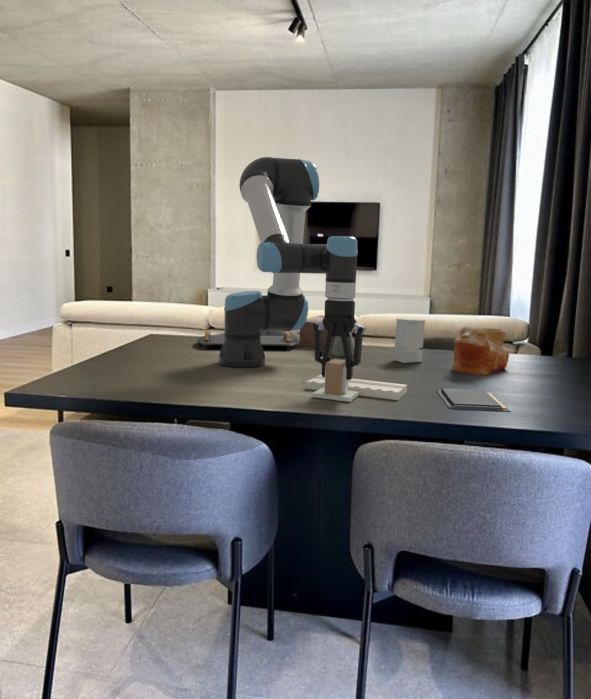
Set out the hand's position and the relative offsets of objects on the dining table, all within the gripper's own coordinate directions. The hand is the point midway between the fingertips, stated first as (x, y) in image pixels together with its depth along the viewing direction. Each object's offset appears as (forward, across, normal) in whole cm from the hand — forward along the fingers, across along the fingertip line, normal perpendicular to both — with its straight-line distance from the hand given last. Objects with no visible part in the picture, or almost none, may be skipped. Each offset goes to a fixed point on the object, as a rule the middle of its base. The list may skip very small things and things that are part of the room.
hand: (336, 390), depth 150 cm
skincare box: (+2, +5, +62) cm, 62 cm away
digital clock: (+2, -21, +63) cm, 67 cm away
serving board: (+3, -58, +61) cm, 85 cm away
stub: (+2, 0, 0) cm, 2 cm away
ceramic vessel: (+2, +29, +58) cm, 65 cm away
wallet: (+3, +32, +14) cm, 35 cm away
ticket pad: (+2, +2, +10) cm, 10 cm away
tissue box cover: (+2, -34, +85) cm, 92 cm away
